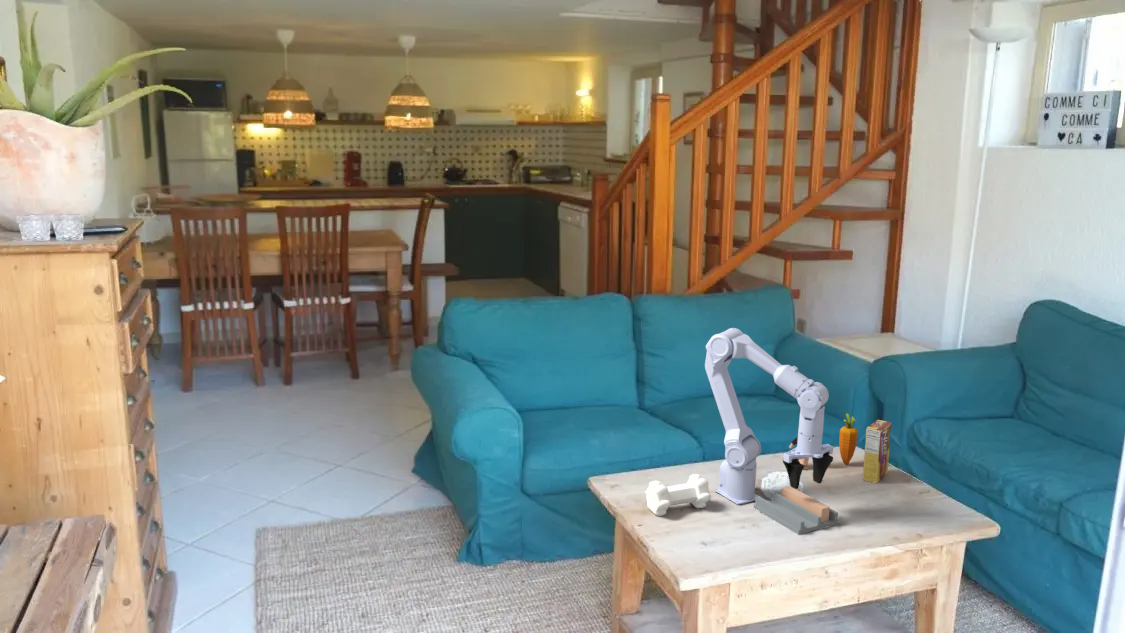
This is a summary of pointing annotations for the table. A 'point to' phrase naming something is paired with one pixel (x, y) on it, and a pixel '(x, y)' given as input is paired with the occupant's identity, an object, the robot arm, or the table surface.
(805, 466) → the grandmother figurine
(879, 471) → the candy box
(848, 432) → the carrot
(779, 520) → the rack
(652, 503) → the white bone
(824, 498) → the table surface
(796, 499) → the clay strip
